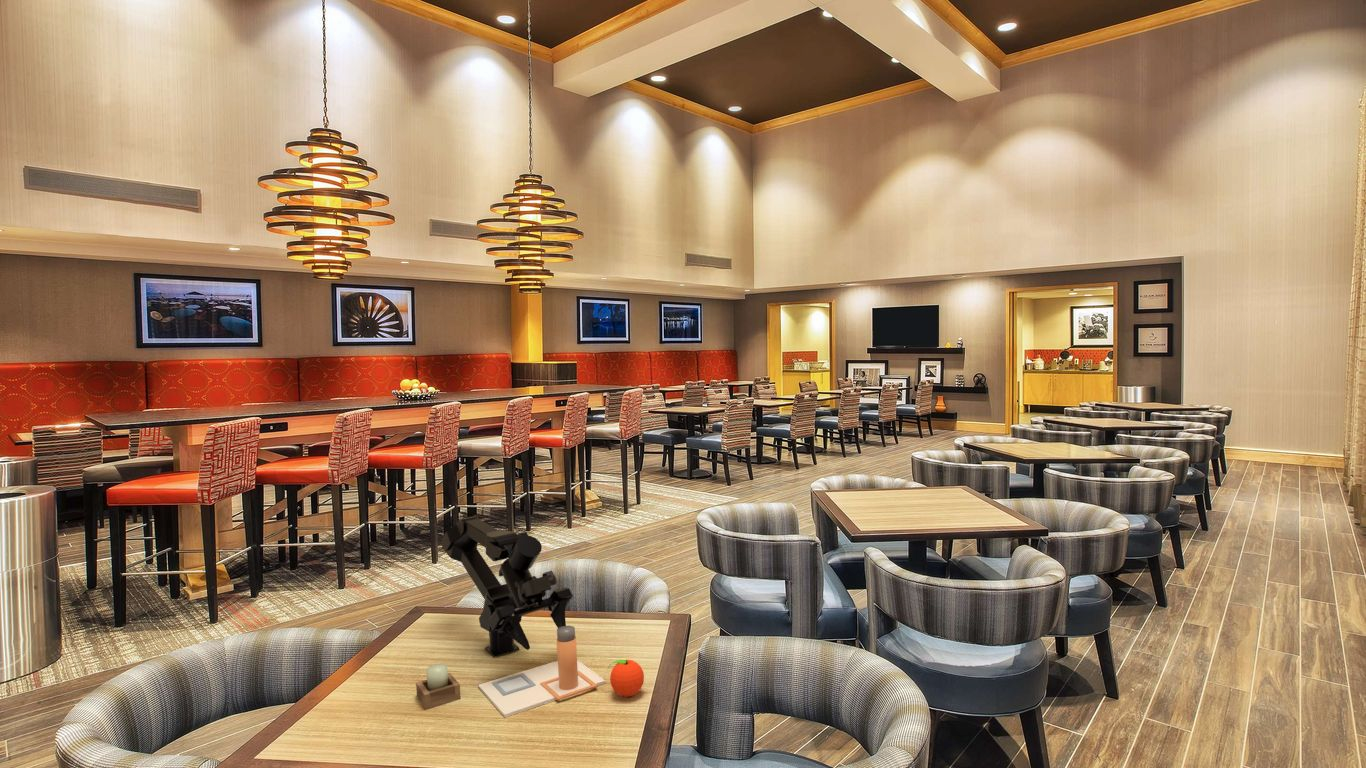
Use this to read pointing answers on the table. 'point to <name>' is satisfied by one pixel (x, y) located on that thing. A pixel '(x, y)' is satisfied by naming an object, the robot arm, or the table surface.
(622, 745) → the table surface
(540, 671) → the picture sheet
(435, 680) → the button
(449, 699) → the button base
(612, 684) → the clementine
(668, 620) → the table surface
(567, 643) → the marker
